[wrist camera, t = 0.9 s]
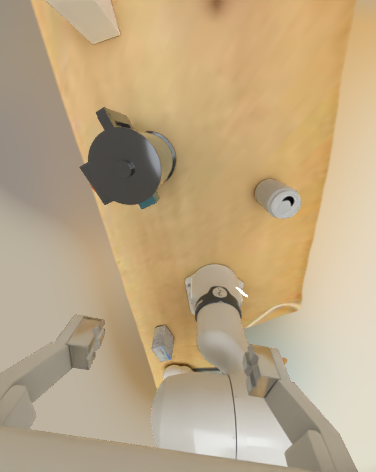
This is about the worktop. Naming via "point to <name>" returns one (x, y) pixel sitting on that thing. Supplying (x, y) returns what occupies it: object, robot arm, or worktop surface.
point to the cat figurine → (175, 370)
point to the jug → (128, 162)
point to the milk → (89, 17)
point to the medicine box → (163, 343)
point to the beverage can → (278, 198)
